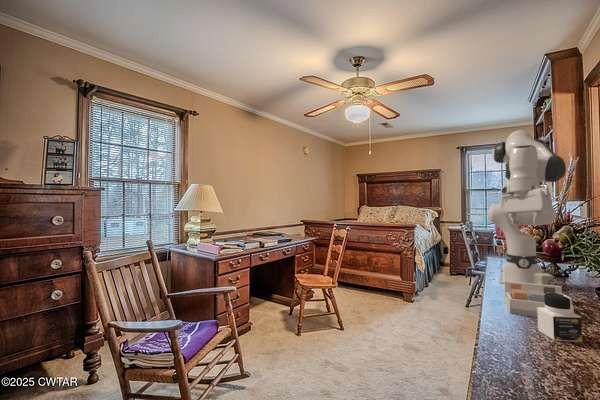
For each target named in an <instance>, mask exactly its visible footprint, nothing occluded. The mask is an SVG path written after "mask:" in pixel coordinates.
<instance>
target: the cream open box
mask: <svg viewBox="0 0 600 400" xmlns="http://www.w3.org/2000/svg"><path fill="white" fill-rule="evenodd" d="M504 283H505V284H504ZM504 283H503V284H504V303H505V305H506V307H507V310H508V312H509V314H510V315H511V314H512V315H518V316H525V317H526V316H527V317H534V318H538V313H537V308H538V307H545V302H536V301H531V299H530V298H529V290H530V291H540V292H543V293H544V294H547V292H551V293H561V294H563V292H562V286H561V285H555V284H554V285H542V284H531V283H520V282H508V281H504ZM512 289H520V290H525V291H526V293H527V299H528V301H527V300H518V299H514V298H513V296H512ZM574 309H575V308H574V305H573V304H572V311H571V312H572V313H575V311H574Z"/></svg>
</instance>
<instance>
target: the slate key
mask: <svg viewBox="0 0 600 400" xmlns="http://www.w3.org/2000/svg"><path fill="white" fill-rule="evenodd" d="M544 295H545V294H544V293H543V292H540V291H530V290H529V298H530V299H531V301H536V302H545V301H544Z"/></svg>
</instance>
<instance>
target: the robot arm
mask: <svg viewBox="0 0 600 400" xmlns="http://www.w3.org/2000/svg"><path fill="white" fill-rule="evenodd" d="M491 154H492V158H493V160H494V162H495V163H498V164H504V163H505V164H504V165H505V183H504V185H505V186H504V187H502V188H501V189H500V190H499V192H500V194H501V197H500V202H499V203H494V204H491V205H490V206H489V208H488V210H487V217H488V219H489V221H490V222H491V223H492V224H494V225H495V226H497V227H498V228H499V229H500V230H501V231H502V233H503V235H504V237H505V241H506V251H507V252H506V253H505V254H506V255H505V259H506V260H505V261H506V263H504V265H502V267H501V268H500V272H501V276H500V278H499V279H498V283H500V284H504V285H505V283H504V281H508V282H520V283H531V284H535V274H534V273H543V268H542V267H541V266H540V265H539V264H538V263H539V261H538V260H539V258H538V255H537V241H536V238H535V237H534V236H533V235H531V234H529V233H527V232H524V231H522V230H520V228H519V226H543V225H544V226H545V225H550V224H552V223H553V222H554V221H555V219H556V216H557V213H556V209H555V208H554V206H553V202H552V196H551V193H550V188H549V186H547V185H546V184H540V183H543V182H546V183H557V182H559V181H560V180H561V179H563V178H564V177H565V175H566V171H567V164H566V162H565V159H563V157H561V156H559V155H557V153H555V152H554V150H552V148H550V147H549V146H548V144H546V141H545V140H543V139H539V138H534V136H532V134H531V133H530V132H528V130H525V129H517V130H515V131H513V132H511V133H510V134H509V135H508V136H507V138H506V140H505V141H501V142H498V143H497V144H496V145H494V146H493V149H492V153H491Z"/></svg>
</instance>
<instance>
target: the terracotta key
mask: <svg viewBox="0 0 600 400" xmlns="http://www.w3.org/2000/svg"><path fill="white" fill-rule="evenodd" d="M512 296H513V298H514V299H518V300H527V301H528V299H527V293H526V291H525V290H520V289H512Z"/></svg>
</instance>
